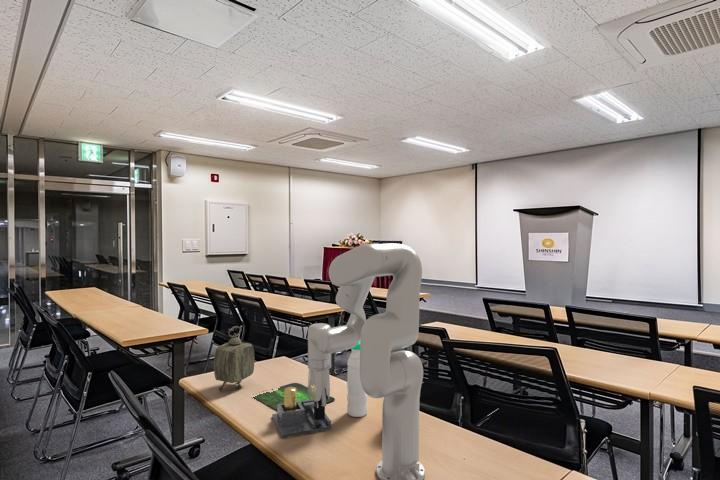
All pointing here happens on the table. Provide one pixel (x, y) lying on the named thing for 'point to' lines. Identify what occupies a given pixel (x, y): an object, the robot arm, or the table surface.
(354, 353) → the water bottle
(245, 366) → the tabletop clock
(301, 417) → the dock
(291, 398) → the peg
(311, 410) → the lock pin
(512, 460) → the table surface
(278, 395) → the mouse mat
